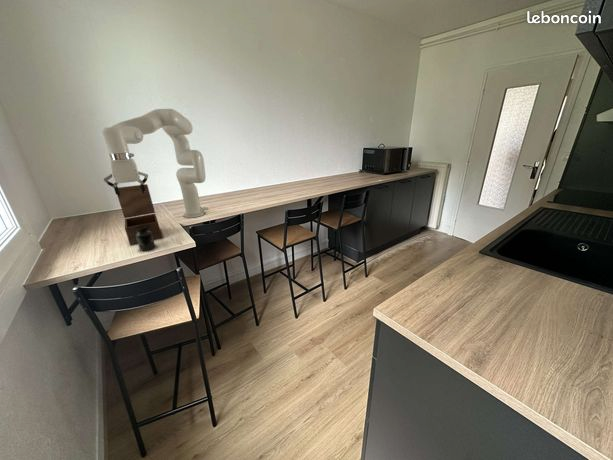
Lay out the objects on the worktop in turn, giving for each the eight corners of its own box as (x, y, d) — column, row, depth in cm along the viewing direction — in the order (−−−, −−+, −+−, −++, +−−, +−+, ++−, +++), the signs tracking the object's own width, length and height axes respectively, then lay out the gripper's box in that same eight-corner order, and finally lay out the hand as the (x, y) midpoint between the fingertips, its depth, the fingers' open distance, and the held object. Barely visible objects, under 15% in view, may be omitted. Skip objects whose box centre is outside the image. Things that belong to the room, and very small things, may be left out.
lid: (147, 184, 140) (146, 183, 144) (114, 188, 132) (115, 187, 136) (155, 212, 145) (154, 211, 149) (124, 218, 138) (124, 216, 142)
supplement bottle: (157, 248, 127) (151, 226, 122) (142, 253, 122) (135, 230, 118) (152, 244, 131) (146, 223, 126) (138, 248, 127) (131, 227, 122)
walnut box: (162, 238, 138) (157, 221, 134) (130, 245, 130) (124, 228, 126) (159, 229, 150) (155, 213, 146) (130, 235, 142) (124, 218, 138)
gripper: (142, 154, 120) (151, 189, 126) (97, 157, 111) (109, 195, 118) (143, 156, 114) (152, 193, 121) (95, 159, 105) (108, 198, 112)
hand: (131, 194), depth 119 cm, fingers open, 9 cm apart
